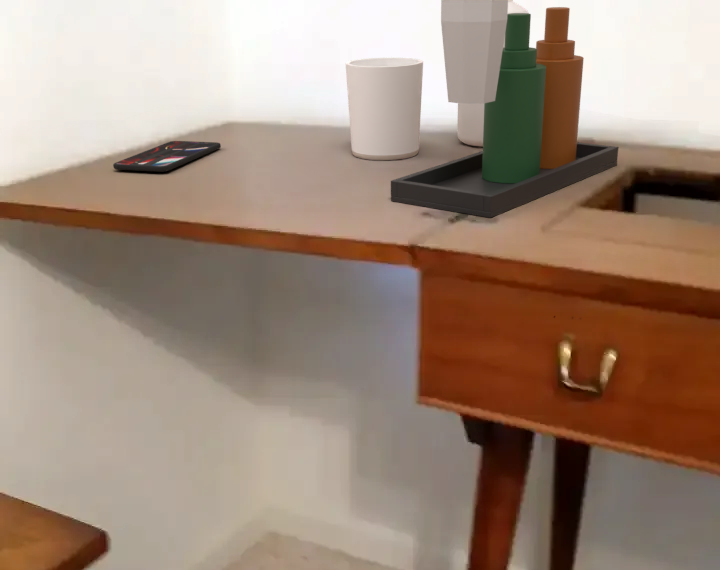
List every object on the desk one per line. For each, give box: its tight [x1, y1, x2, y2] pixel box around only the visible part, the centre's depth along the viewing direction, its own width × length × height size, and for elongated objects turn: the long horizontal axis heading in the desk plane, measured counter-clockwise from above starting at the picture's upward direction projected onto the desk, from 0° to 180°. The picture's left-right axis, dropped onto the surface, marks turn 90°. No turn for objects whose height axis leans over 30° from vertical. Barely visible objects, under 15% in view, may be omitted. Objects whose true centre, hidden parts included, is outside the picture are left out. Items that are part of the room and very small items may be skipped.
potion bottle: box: [456, 0, 529, 148], centre depth 117 cm, size 8×8×18 cm
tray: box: [390, 141, 620, 219], centre depth 102 cm, size 12×27×2 cm, turn 141°
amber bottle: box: [535, 6, 584, 169], centre depth 104 cm, size 6×6×16 cm
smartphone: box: [112, 140, 222, 173], centre depth 117 cm, size 7×1×15 cm
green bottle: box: [482, 12, 546, 184], centre depth 99 cm, size 6×6×16 cm
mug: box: [345, 57, 424, 161], centre depth 115 cm, size 11×9×10 cm
